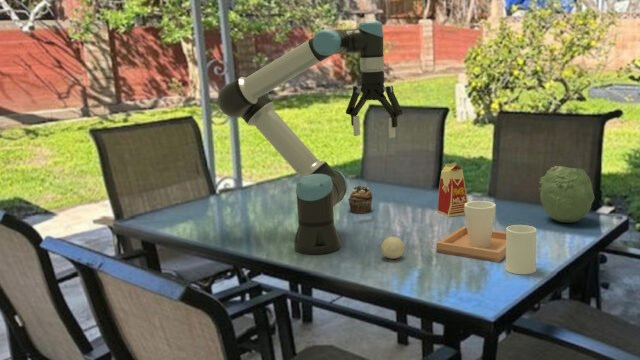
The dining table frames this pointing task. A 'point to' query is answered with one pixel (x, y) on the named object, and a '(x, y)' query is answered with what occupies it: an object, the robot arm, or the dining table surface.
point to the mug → (520, 249)
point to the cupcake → (360, 200)
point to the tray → (460, 246)
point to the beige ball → (392, 247)
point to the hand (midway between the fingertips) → (374, 136)
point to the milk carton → (452, 191)
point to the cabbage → (566, 193)
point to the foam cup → (479, 222)
